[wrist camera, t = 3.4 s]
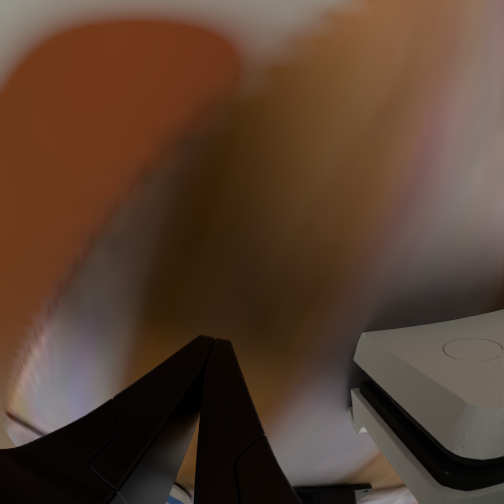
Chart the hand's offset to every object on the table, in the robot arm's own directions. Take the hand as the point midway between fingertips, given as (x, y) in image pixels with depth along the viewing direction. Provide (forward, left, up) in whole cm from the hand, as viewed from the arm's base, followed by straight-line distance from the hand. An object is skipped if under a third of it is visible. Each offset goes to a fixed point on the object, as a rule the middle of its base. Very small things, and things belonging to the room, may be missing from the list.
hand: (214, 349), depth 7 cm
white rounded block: (0, -13, -3) cm, 14 cm away
